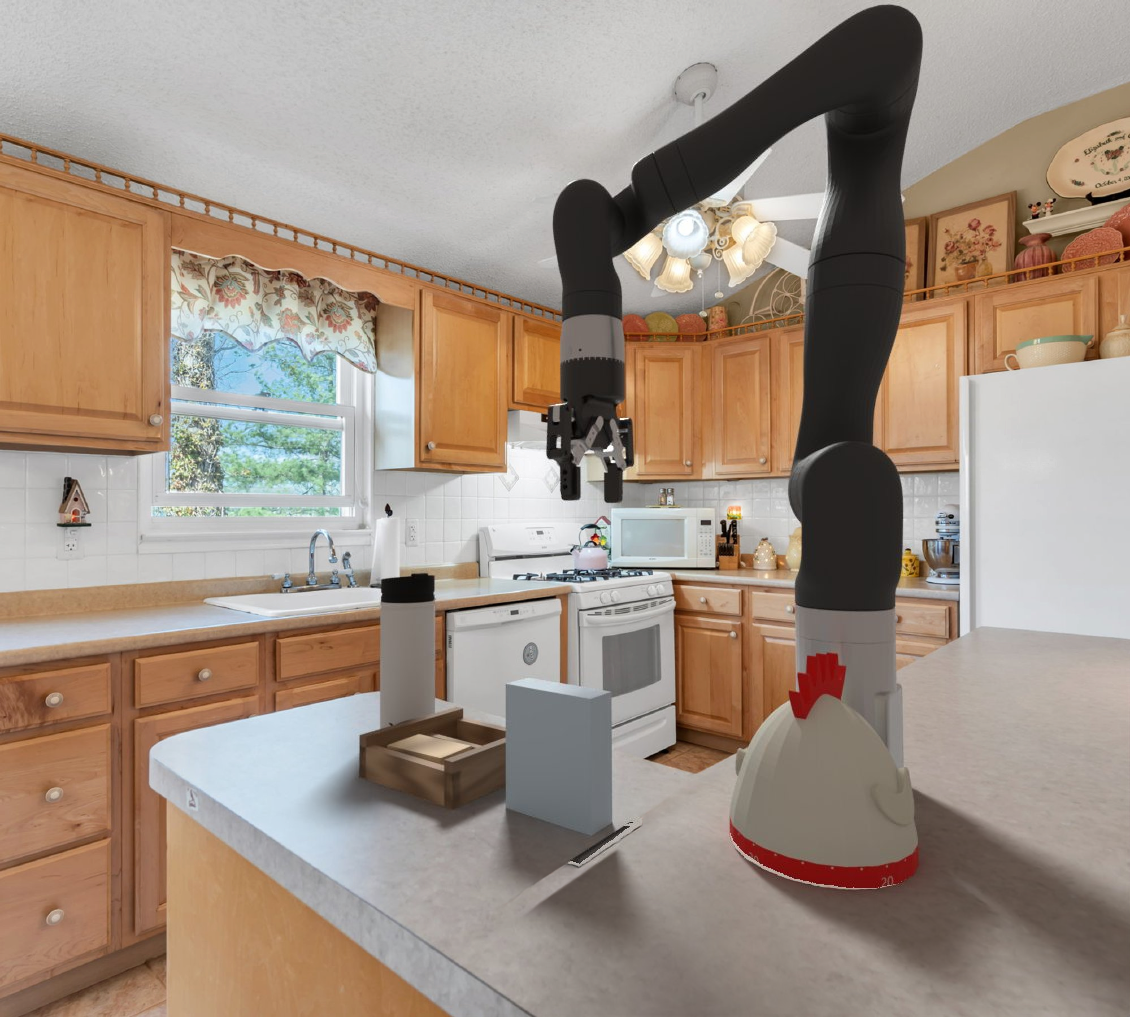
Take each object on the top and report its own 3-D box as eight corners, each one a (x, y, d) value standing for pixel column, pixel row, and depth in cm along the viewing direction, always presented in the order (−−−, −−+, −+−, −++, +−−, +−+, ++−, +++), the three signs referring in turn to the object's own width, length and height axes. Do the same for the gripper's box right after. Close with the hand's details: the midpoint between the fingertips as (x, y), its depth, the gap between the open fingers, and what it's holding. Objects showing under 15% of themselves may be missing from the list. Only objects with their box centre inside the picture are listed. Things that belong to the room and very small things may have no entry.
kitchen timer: (945, 846, 54) (941, 654, 55) (874, 914, 45) (870, 682, 45) (782, 796, 64) (780, 635, 65) (695, 844, 55) (694, 654, 55)
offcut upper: (471, 762, 66) (471, 745, 66) (440, 775, 62) (440, 758, 62) (418, 749, 70) (418, 734, 70) (387, 761, 66) (387, 745, 66)
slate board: (612, 827, 56) (611, 691, 57) (591, 840, 54) (590, 698, 54) (528, 800, 62) (528, 677, 62) (505, 812, 59) (505, 683, 60)
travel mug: (396, 757, 75) (396, 574, 76) (370, 743, 80) (371, 572, 81) (446, 745, 79) (446, 572, 80) (419, 732, 84) (419, 569, 85)
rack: (547, 776, 69) (547, 726, 69) (452, 820, 59) (452, 762, 59) (456, 751, 77) (456, 707, 77) (359, 786, 67) (359, 734, 67)
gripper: (582, 343, 72) (583, 499, 71) (651, 368, 83) (652, 502, 83) (527, 355, 76) (528, 501, 76) (600, 377, 88) (600, 504, 87)
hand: (593, 501), depth 79 cm, fingers open, 8 cm apart
